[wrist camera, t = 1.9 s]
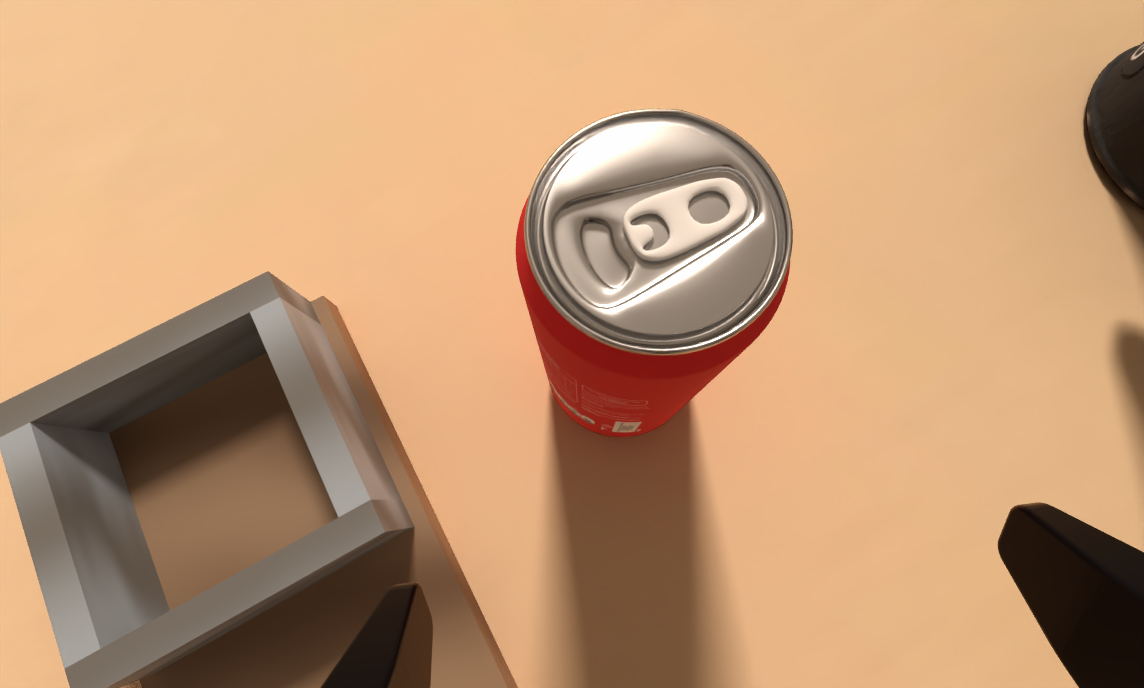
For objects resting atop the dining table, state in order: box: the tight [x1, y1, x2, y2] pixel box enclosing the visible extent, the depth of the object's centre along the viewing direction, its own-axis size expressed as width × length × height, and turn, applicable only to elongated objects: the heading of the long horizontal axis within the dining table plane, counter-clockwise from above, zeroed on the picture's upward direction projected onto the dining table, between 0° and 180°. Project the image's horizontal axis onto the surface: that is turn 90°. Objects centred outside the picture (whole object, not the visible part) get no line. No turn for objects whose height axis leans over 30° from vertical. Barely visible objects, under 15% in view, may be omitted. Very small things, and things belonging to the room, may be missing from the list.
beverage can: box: [516, 109, 793, 437], centre depth 16 cm, size 5×5×12 cm
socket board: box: [0, 271, 518, 688], centre depth 18 cm, size 21×10×4 cm, turn 29°
